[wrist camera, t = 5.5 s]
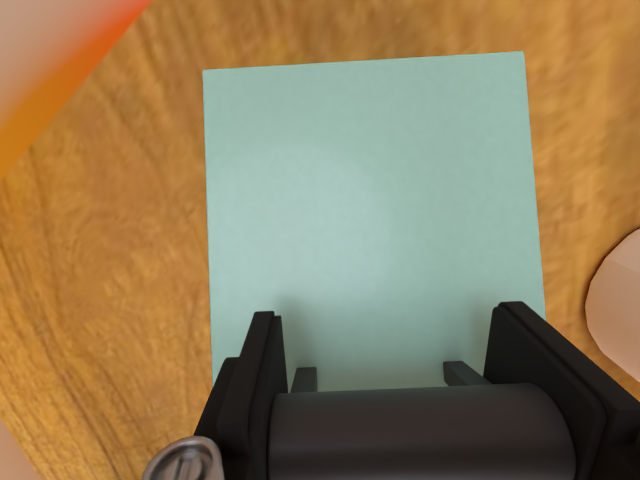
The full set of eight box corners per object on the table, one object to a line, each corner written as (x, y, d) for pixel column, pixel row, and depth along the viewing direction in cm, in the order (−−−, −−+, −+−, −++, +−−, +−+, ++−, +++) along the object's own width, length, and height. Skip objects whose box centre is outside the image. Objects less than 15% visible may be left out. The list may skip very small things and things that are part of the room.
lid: (541, 424, 12) (740, 580, 6) (221, 437, 12) (126, 600, 6) (512, 63, 13) (669, -100, 7) (209, 80, 13) (113, -64, 7)
